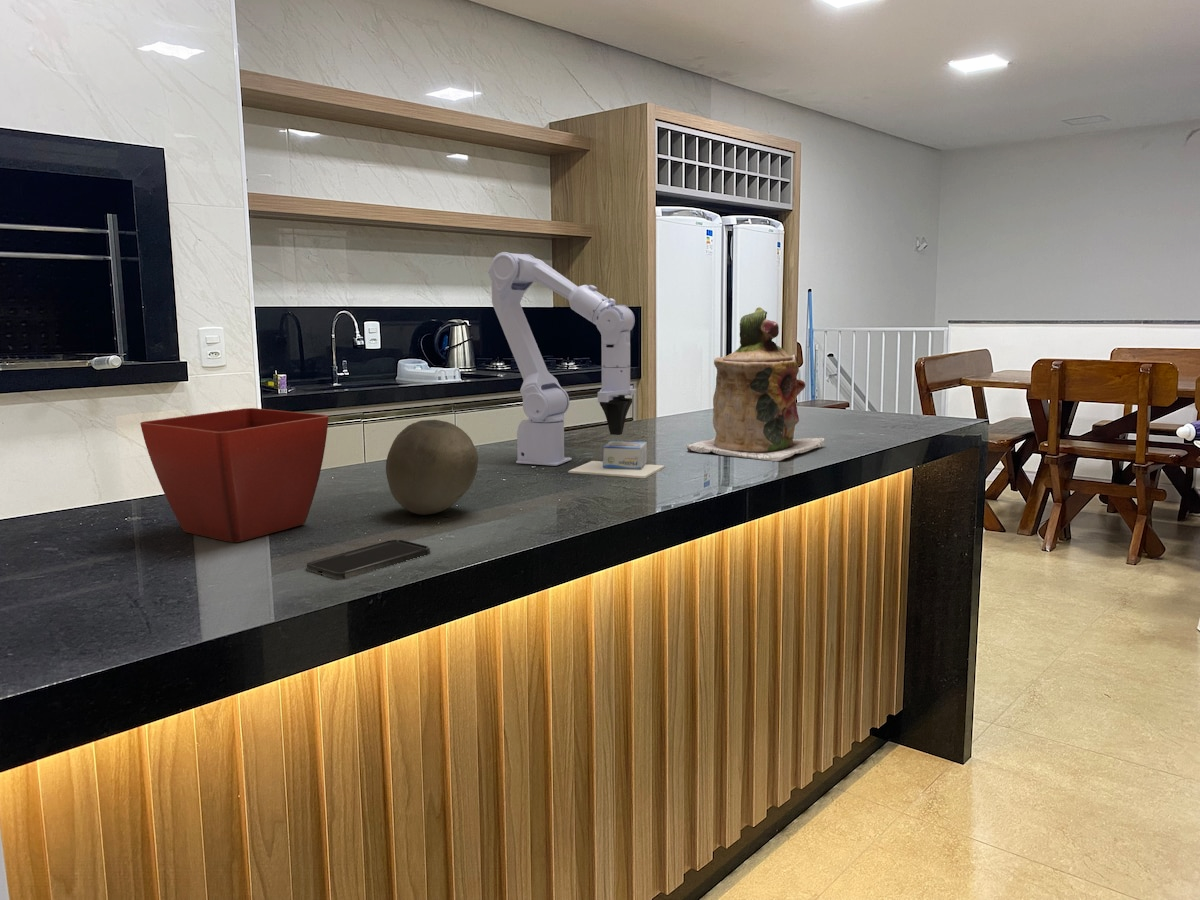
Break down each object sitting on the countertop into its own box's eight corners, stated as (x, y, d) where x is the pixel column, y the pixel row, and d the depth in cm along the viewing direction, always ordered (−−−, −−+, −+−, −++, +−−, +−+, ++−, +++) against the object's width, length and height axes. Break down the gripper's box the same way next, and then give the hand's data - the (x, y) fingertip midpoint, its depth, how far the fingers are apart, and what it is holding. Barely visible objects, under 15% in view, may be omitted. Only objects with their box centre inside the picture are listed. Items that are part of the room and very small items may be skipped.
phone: (433, 547, 121) (340, 574, 110) (433, 555, 121) (340, 583, 110) (395, 538, 126) (302, 563, 114) (395, 546, 126) (302, 571, 115)
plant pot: (229, 553, 122) (219, 430, 119) (146, 535, 132) (136, 421, 129) (338, 523, 138) (332, 414, 135) (257, 509, 148) (250, 407, 145)
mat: (568, 472, 178) (568, 470, 177) (592, 462, 188) (592, 460, 188) (644, 478, 171) (644, 476, 171) (664, 467, 182) (664, 465, 182)
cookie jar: (681, 452, 201) (682, 307, 196) (731, 438, 221) (733, 306, 216) (785, 463, 187) (789, 307, 182) (828, 447, 207) (832, 306, 202)
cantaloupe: (402, 528, 135) (398, 429, 132) (379, 509, 147) (374, 418, 145) (490, 517, 141) (488, 422, 139) (461, 500, 154) (458, 413, 151)
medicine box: (647, 441, 186) (641, 447, 177) (647, 462, 186) (641, 469, 178) (609, 440, 187) (602, 446, 179) (609, 461, 188) (602, 468, 179)
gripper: (621, 369, 171) (621, 440, 173) (647, 364, 184) (646, 430, 186) (587, 369, 173) (588, 438, 176) (615, 364, 187) (615, 428, 189)
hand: (616, 434), depth 181 cm, fingers closed
